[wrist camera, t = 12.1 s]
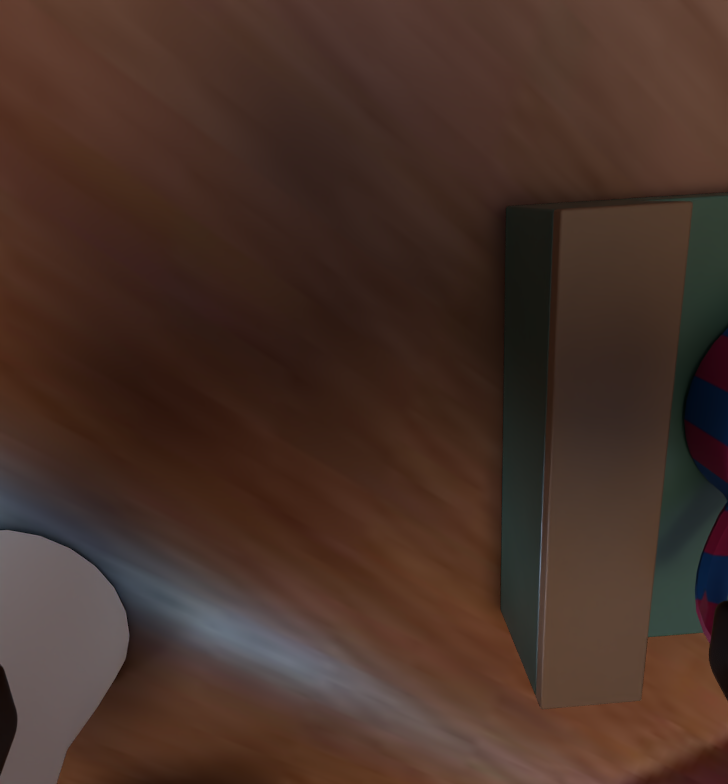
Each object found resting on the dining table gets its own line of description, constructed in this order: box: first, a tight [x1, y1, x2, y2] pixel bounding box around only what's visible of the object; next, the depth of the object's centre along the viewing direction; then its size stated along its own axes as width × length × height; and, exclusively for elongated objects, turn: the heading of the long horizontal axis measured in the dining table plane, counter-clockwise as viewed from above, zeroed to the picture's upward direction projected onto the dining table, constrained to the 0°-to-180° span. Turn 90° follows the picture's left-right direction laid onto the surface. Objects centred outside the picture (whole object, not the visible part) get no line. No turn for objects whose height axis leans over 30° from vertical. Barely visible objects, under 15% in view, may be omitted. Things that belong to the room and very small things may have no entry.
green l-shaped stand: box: [501, 192, 728, 709], centre depth 18 cm, size 14×12×4 cm
